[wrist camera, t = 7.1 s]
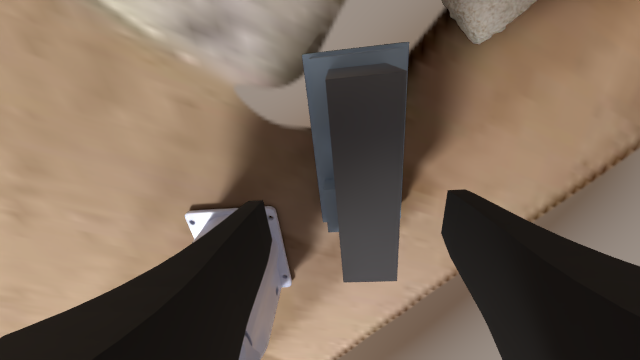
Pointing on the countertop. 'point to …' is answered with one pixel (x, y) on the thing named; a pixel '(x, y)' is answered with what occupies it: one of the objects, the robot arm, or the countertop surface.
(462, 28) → the washcloth
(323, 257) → the countertop surface
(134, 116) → the countertop surface
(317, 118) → the display stand
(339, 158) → the dark grey rectangular block
